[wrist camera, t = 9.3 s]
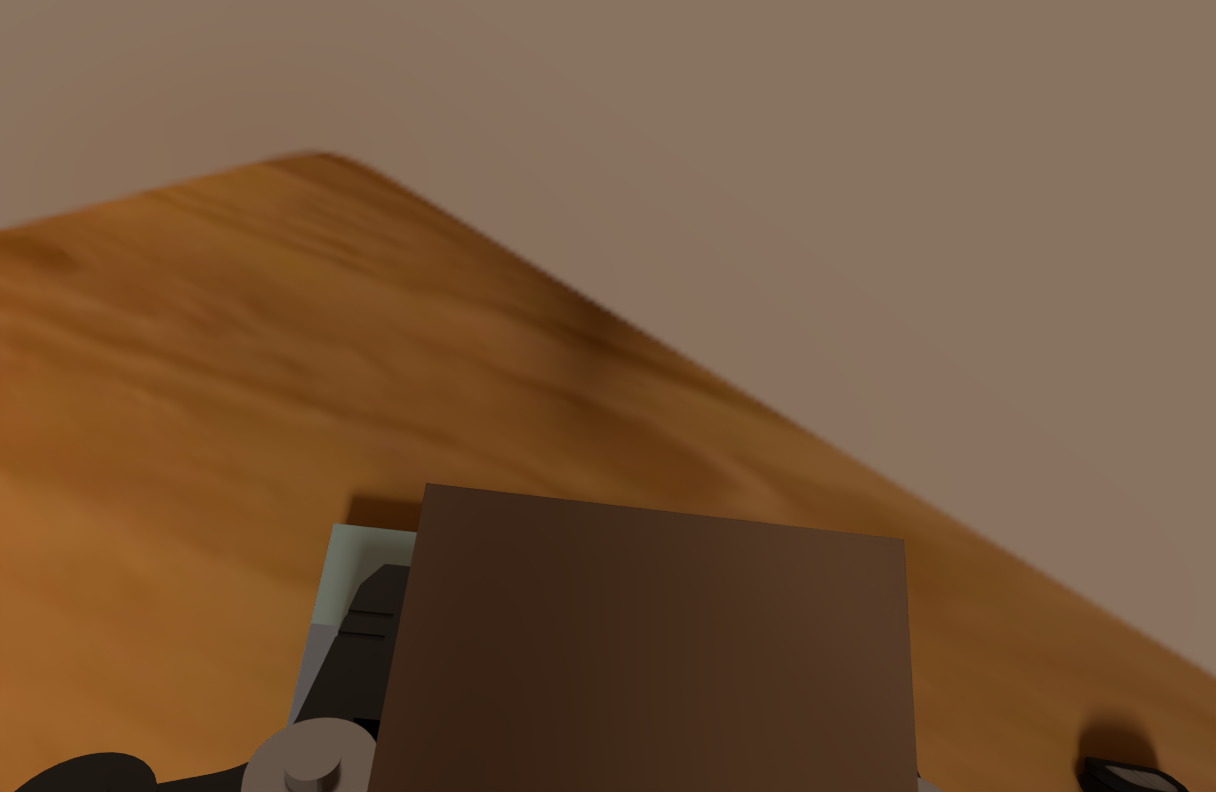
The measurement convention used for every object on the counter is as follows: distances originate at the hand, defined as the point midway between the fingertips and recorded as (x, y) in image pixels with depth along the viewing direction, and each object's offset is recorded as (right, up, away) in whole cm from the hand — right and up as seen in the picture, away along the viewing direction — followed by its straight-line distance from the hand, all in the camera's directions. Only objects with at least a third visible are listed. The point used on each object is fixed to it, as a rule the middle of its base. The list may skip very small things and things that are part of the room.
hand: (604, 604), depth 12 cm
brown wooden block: (-1, -3, +4) cm, 5 cm away
